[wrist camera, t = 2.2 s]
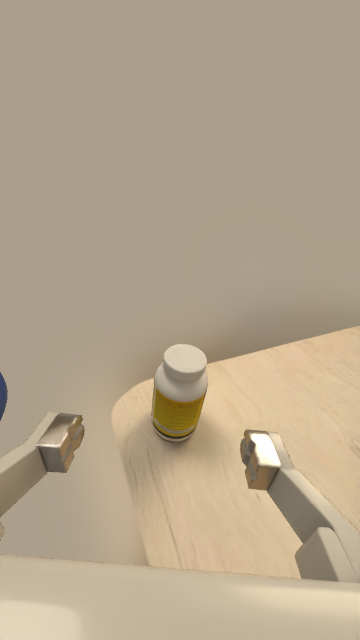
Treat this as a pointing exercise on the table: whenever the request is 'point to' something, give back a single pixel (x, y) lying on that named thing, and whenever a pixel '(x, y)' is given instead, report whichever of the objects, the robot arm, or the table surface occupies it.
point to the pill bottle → (179, 392)
